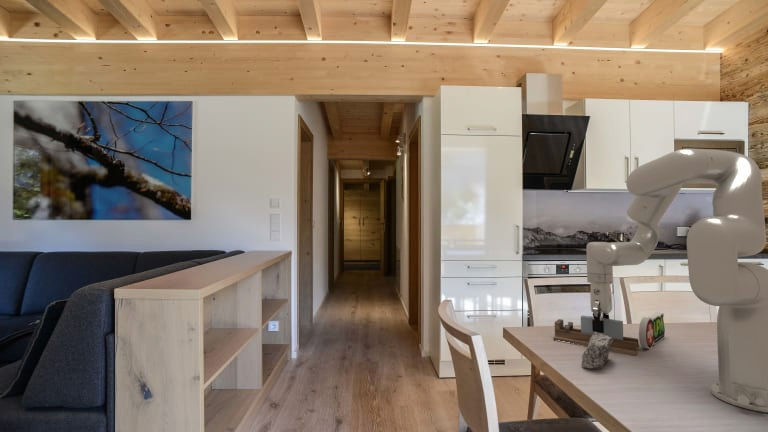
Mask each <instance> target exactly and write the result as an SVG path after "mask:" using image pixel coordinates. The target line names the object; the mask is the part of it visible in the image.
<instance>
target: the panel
mask: <svg viewBox="0 0 768 432" xmlns="http://www.w3.org/2000/svg"><path fill="white" fill-rule="evenodd" d="M592 316H593V315H592ZM592 316H591V315H583V314H582V315H580V329H581V333H584V334H590V335H592V334H593V333H594V332H593V331H592ZM602 321H604V333H600V334H604V335H607V336H610V337H612V338H614V339H619V340H623V336H624V320H620V319H619V320H618V319H613V318H609V319H606V318H603V320H602Z"/></svg>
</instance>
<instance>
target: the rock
mask: <svg viewBox="0 0 768 432" xmlns="http://www.w3.org/2000/svg"><path fill="white" fill-rule="evenodd" d="M612 341H613V338H612V337H610V336H607V335H604V334H600V333H598V332H594V333H593V334H592V337H591V338H590V340H589V344H588V347H586V349H585V350H584V351H583V353H582V355H581V367H582V368H583V369H603V368H604V367H605V362H607V361H608V359H609V354H610V351H609V349H610V346H611V343H612Z"/></svg>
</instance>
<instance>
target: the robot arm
mask: <svg viewBox="0 0 768 432" xmlns="http://www.w3.org/2000/svg"><path fill="white" fill-rule="evenodd" d="M762 182H763V181H762V173H761V169H760V168H759V165H758V164H757V163H756V161H755V160H754V159H752V158H751V157H749V156H747V155H745V154H742V153H740V152H736V151H728V150H722V149H721V150H720V149H705V148H702V149H701V148H683V149H677V150H675V151H672V152H670V153H667V154H664V155H662V156H660V157H658V158H655V159H653V160H650V161H648V162H646V163H643V164H642V165H640V166H638V167H636V168H634V169H633V170H632V171H631V172H630V173H629V175H628V176H627V179H626V189H627V190H628V192H629V193H630V194H632V195H633V196H635V197H634V198H633V200H632V201H631V203H630V205H629V206H628V208H627V210H626V214H627V217H629V218H630V220H632V221H634V222H635V223H636V224H637V229H636V232H635V234H634V236H633V237H632V238H631V240H630V241H619V242H618V241H617V242H613V241H611V242H607V241H590V242H588V243H587V244H586V249H585V250H586V282H587V283H589V284H590V294H589V295H590V311H591V313H592V331H593V332H598V333H604V321H602V320H603V318H606V319H610V315H609V314H610V313H611V312H612V310H613V301H612V298H613V297H612V287H611V285H612V284H614V276H613V275H614V273H613V269H614V268H613V267H623V266H637V265H638V266H639V265H641V264H643V263H645V262H646V260H647V259H648V258H649V257H650V256H651V255H652V253H653V252H654V250H655V249H656V247H657V245H658V242H659V239H660V227H659V223H660V221H661V219H662V218H663V217H664V215H665V213H666V212H667V210H668V209H669V207H670V206H671V205H672V203H673V201H674V200H675V198H676V197H677V195H678V193H680V191H681V189H682V187H683V185H684V184H711V185H715V186H716V187H715V190H714V192H713V195H712V199H711V200H712V202H711V204H712V216H706V217H703V218H700V219H698V220H697V221H696V222H694V223H693V224H692V225H691V227H689V230H688V232H687V236H686V253H687V255H686V256H687V267H688V278H689V279H688V280H689V284H690V288H691V290H692V292H693V294H694V295H695V297H696V298H697V299H699V300H700V301H701V302H703V303H705V304H706V305H710V306H714V307H718V310H717V314H716V315H717V316H716V336H717V338H716V339H717V340H716V342H717V364H718V365H717V366H718V367H717V368H718V372H717V373H718V383H713V384H711V385H710V387H709V388H710V389H709V390H710V393H711V394H712V395H713V396H714V397H716V398H717V399H719V400H720V401H723V402H726V403H728V404H731V405H733V406H737V407H739V408H743V409H747V410H749V411H753V412H755V411H756V412H760V413H765V414H766V413H768V269H767V268H766V267H764V266H762V265H760V264H757V263H752V262H744V261H742V262H739V259H738V258H740V257H741V258H742V257H749V256H754V255H757V254H759V253H761V252H762V251H763V250H764V249H765V246H766V244H767V233H766V232H767V231H766V220H765V208H764V203H763V189H762V188H763V183H762Z"/></svg>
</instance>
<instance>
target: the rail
mask: <svg viewBox="0 0 768 432" xmlns="http://www.w3.org/2000/svg"><path fill="white" fill-rule="evenodd" d="M564 323H565V322H564V319H560V318H559V319H557V320H555V321H554V336H553V339H554V340H553V341H555V340H560V341H565V342H570V343H569V344H571V343H574V344H573V345H576V344H579V345H578V346H581V345H584V346H583V347H586V346H588V344H589V340H590V338H591V337H592V335H590V334H584V333H581V328H574V322H571V321H568V322H567V324H564ZM560 341H559V342H560ZM565 342H564V343H565ZM639 350H640V344H639V338H634V337H628V336H624V335H623V340H619V339H614V338H613V341H612V343H611V346H610V349H609V352H612V351H613V353H619V354H624V355H629V356H635V357H636V356H637V354H638V352H639Z"/></svg>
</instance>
